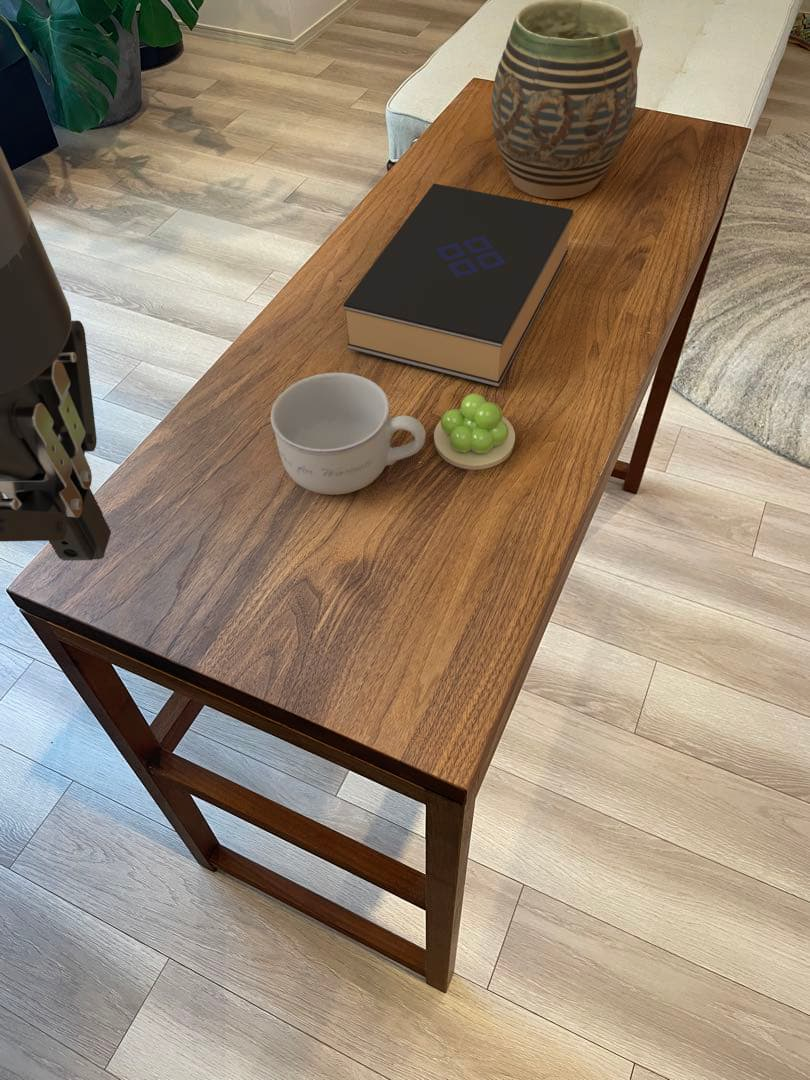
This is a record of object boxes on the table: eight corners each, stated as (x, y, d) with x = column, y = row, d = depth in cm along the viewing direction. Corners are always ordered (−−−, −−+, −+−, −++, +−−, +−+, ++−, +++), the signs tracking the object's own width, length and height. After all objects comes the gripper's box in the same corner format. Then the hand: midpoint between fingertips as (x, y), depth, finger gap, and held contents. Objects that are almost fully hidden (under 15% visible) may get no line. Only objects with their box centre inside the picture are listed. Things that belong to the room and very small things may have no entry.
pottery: (466, 194, 110) (470, 29, 94) (520, 134, 119) (533, -26, 103) (592, 227, 104) (619, 57, 88) (640, 161, 113) (672, -4, 97)
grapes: (446, 477, 79) (446, 437, 75) (424, 420, 84) (423, 380, 80) (525, 460, 80) (530, 420, 76) (500, 405, 85) (503, 364, 81)
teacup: (263, 492, 79) (248, 432, 73) (313, 417, 85) (303, 356, 79) (398, 533, 75) (394, 474, 69) (441, 452, 81) (440, 390, 75)
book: (348, 354, 91) (342, 303, 86) (433, 232, 105) (433, 182, 99) (498, 393, 86) (501, 342, 81) (567, 260, 100) (574, 209, 95)
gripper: (-118, 139, 32) (51, 452, 46) (-304, 369, 24) (-30, 665, 37) (74, 133, 32) (186, 451, 45) (-48, 364, 23) (133, 665, 37)
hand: (88, 548), depth 41 cm, fingers closed
